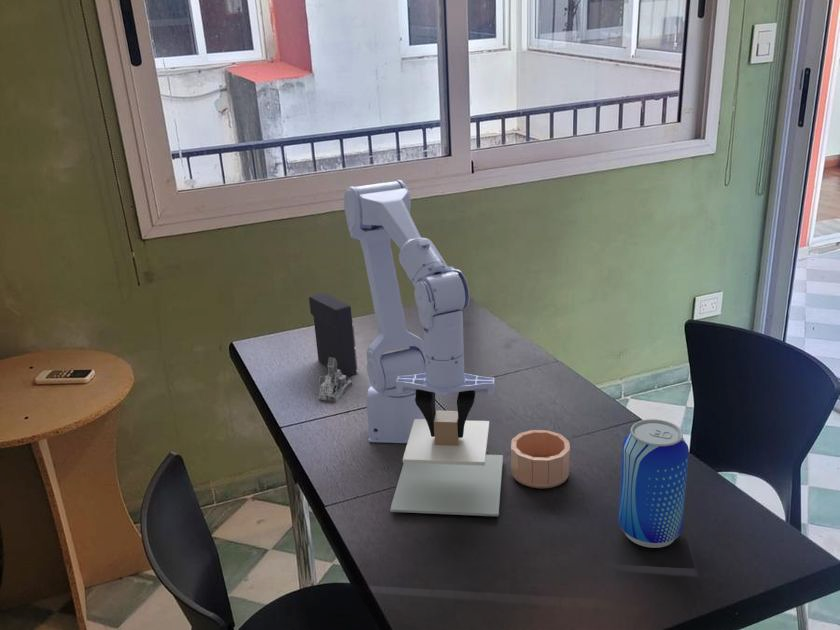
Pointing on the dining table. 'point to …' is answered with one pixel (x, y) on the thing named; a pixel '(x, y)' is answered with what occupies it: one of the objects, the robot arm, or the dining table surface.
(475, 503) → the mat
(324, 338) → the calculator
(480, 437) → the cover sheet
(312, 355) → the dining table surface
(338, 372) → the grey crystal cluster
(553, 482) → the bowl
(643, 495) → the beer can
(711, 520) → the dining table surface
